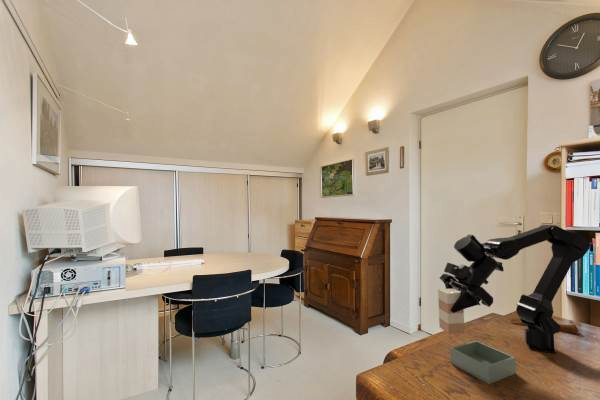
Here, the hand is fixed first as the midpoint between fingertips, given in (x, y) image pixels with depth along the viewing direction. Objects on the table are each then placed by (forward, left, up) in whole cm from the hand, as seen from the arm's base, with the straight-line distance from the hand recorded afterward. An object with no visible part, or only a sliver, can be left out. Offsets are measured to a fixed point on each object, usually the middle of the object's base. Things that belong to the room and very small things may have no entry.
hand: (446, 308), depth 89 cm
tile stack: (-1, -1, -7) cm, 7 cm away
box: (-9, +5, -13) cm, 17 cm away
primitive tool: (-30, -36, -14) cm, 49 cm away
